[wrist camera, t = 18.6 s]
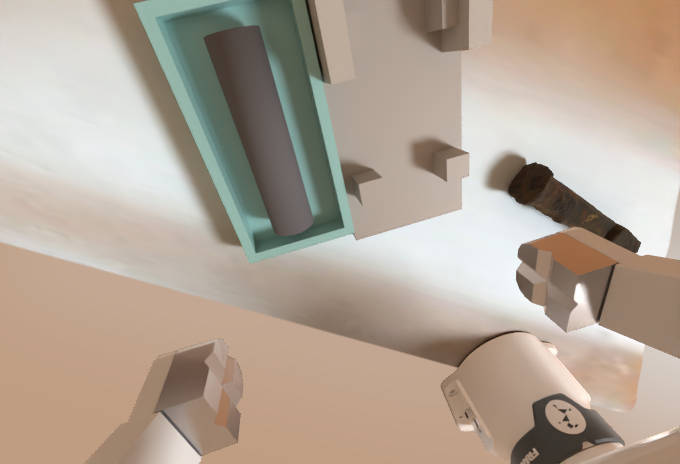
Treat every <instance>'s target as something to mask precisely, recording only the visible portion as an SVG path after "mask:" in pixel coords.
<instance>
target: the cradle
mask: <svg viewBox="0 0 680 464" xmlns="http://www.w3.org/2000/svg"><path fill="white" fill-rule="evenodd" d="M305 3H306V7H307V12H308V17H309V21H310V26H311V31H312V35H313V40H314V45H315V49H316V54H317V59H318V63H319V68H320V73H321V77H322V82H323V87H324V91H325V96H326V101H327V105H328V110H329V115H330V119H331V124H332V128H333V133H334V138H335V142H336V147H337V152H338V156H339V161H340V166H341V170H342V175H343V180H344V184H345V189H346V194H347V198H348V203H349V208H350V212H351V217H352V222H353V226H354V231H355V233H353V235H354V237H355V238H356V240H359V239H362V238H366V237H369V236H372V235H376V234H379V233H383V232H386V231H389V230H393V229H396V228H399V227H403V226H406V225H409V224H413V223H416V222H420V221H423V220H426V219H430V218H433V217H436V216H440V215H443V214H447V213H450V212H453V211H457V210H460V209H462V178H464V177H467V176H469V153H468V152H465V151H463V150H461V51H462V50H470V49H474V48H478V47H482V46H486V45H490V44H491V37H492V12H493V0H305Z"/></svg>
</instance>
